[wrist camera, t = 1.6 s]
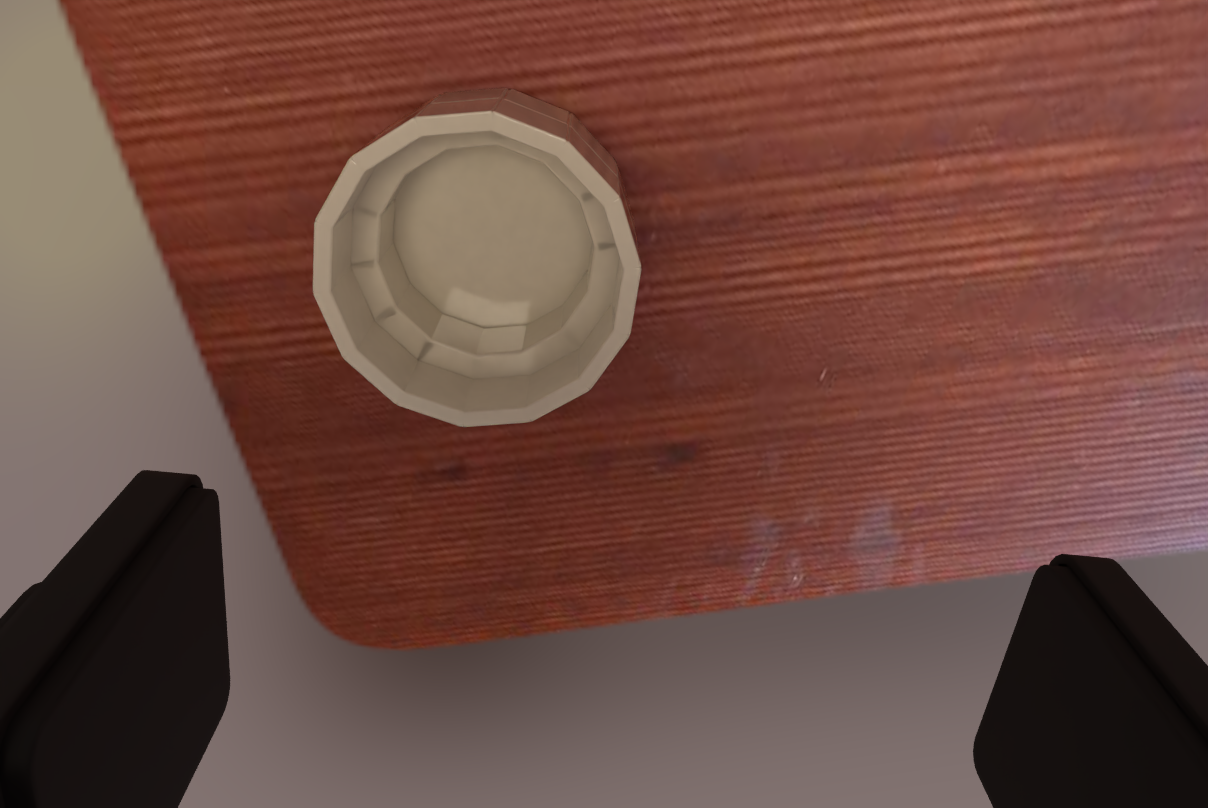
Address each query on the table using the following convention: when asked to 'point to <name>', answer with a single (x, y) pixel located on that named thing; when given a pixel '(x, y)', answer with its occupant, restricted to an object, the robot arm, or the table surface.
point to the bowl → (479, 259)
